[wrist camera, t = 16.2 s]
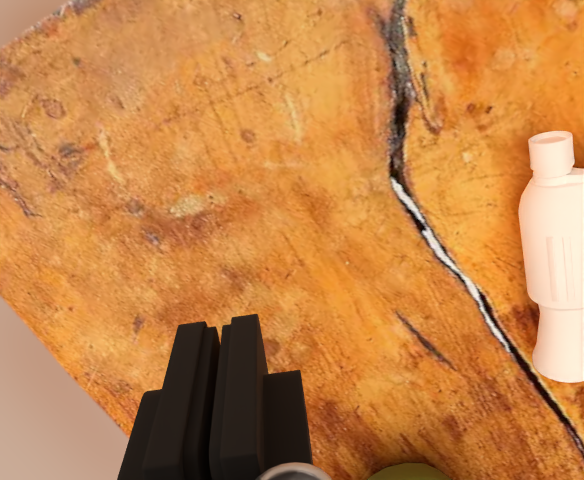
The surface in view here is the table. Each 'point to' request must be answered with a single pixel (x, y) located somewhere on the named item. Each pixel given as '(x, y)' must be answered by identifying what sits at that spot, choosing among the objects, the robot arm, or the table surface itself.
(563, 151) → the binoculars
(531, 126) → the table surface
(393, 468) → the apple
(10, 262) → the table surface
